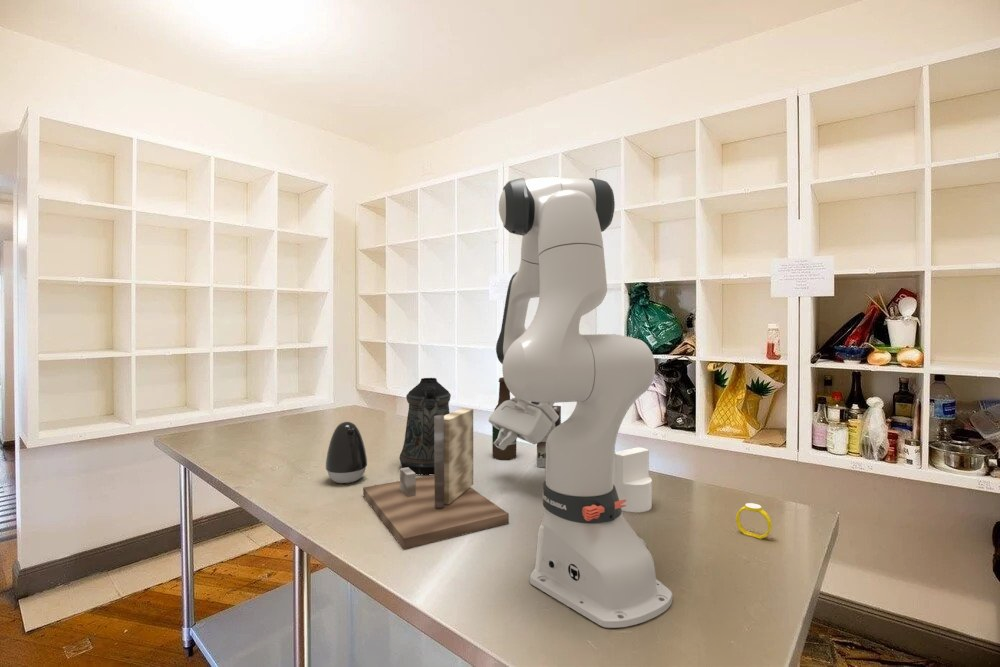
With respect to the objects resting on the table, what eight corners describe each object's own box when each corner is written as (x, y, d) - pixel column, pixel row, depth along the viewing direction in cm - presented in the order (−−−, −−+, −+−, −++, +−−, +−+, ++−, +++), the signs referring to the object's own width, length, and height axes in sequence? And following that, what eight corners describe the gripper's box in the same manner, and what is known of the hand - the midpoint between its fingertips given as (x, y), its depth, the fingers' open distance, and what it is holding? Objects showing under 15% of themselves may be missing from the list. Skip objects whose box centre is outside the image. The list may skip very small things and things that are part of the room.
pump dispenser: (333, 490, 115) (332, 428, 114) (320, 478, 123) (320, 420, 123) (373, 481, 121) (373, 422, 120) (359, 471, 129) (358, 416, 129)
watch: (735, 535, 91) (733, 504, 92) (739, 530, 94) (737, 500, 94) (770, 542, 88) (768, 510, 88) (773, 537, 90) (771, 506, 90)
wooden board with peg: (508, 523, 96) (508, 489, 96) (404, 549, 85) (403, 511, 85) (449, 480, 122) (449, 453, 122) (363, 495, 111) (363, 466, 111)
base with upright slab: (632, 515, 100) (633, 459, 100) (601, 502, 107) (602, 449, 107) (660, 506, 105) (660, 452, 105) (628, 494, 112) (629, 444, 112)
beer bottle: (521, 458, 141) (521, 378, 140) (497, 461, 138) (497, 379, 137) (511, 452, 148) (511, 375, 147) (487, 454, 145) (487, 376, 145)
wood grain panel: (443, 508, 98) (443, 417, 97) (430, 506, 99) (430, 416, 98) (473, 484, 112) (473, 404, 112) (461, 482, 113) (461, 404, 113)
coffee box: (559, 468, 132) (559, 411, 131) (536, 467, 133) (536, 410, 132) (561, 459, 140) (561, 405, 140) (539, 458, 142) (540, 404, 141)
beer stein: (440, 454, 145) (439, 373, 145) (475, 470, 130) (475, 380, 129) (389, 464, 135) (389, 377, 134) (422, 483, 120) (421, 385, 119)
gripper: (503, 389, 127) (471, 430, 122) (548, 401, 109) (511, 449, 104) (517, 404, 129) (486, 444, 124) (563, 419, 111) (528, 466, 107)
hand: (498, 447), depth 114 cm, fingers closed
